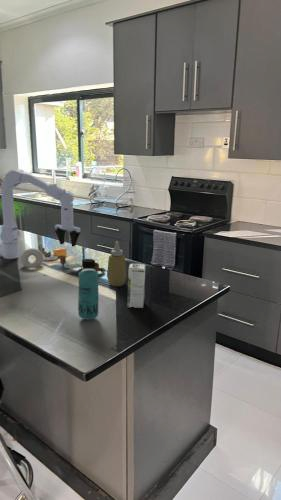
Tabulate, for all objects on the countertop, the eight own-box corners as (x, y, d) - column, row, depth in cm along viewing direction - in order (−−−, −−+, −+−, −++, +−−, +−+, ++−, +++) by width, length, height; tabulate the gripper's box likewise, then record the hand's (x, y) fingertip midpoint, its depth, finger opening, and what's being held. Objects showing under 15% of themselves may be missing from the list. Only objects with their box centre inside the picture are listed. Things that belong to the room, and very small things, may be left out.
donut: (43, 267, 174) (42, 246, 172) (44, 269, 171) (43, 248, 169) (20, 269, 171) (19, 248, 168) (21, 271, 168) (20, 249, 165)
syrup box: (128, 301, 136) (128, 263, 133) (144, 302, 136) (145, 263, 133) (127, 307, 131) (127, 267, 127) (143, 308, 131) (145, 268, 127)
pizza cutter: (43, 262, 176) (43, 254, 176) (33, 257, 183) (33, 250, 183) (70, 256, 187) (70, 250, 186) (59, 252, 194) (59, 246, 193)
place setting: (80, 282, 157) (80, 268, 156) (57, 270, 172) (57, 258, 171) (114, 274, 168) (114, 261, 167) (90, 264, 183) (90, 252, 182)
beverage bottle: (79, 315, 123) (78, 256, 118) (99, 315, 124) (99, 256, 119) (77, 324, 117) (76, 262, 112) (98, 323, 118) (98, 262, 113)
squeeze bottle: (129, 283, 156) (130, 241, 152) (120, 289, 149) (121, 245, 145) (112, 280, 159) (113, 238, 155) (103, 285, 152) (103, 242, 148)
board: (28, 259, 186) (28, 249, 185) (58, 254, 198) (57, 244, 197) (49, 268, 172) (49, 257, 171) (80, 262, 184) (80, 251, 183)
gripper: (50, 216, 180) (51, 244, 183) (73, 220, 172) (73, 248, 176) (60, 215, 185) (61, 241, 189) (83, 218, 178) (83, 245, 181)
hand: (67, 245), depth 183 cm, fingers open, 7 cm apart
